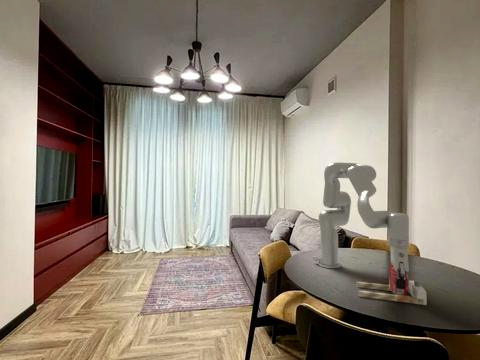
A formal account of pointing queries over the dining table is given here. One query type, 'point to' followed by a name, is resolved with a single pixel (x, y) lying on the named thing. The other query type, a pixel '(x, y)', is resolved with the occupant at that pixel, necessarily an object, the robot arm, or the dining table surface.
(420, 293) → the connector block
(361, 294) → the guide channel
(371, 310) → the dining table surface
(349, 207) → the robot arm
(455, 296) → the dining table surface
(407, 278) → the soda can
